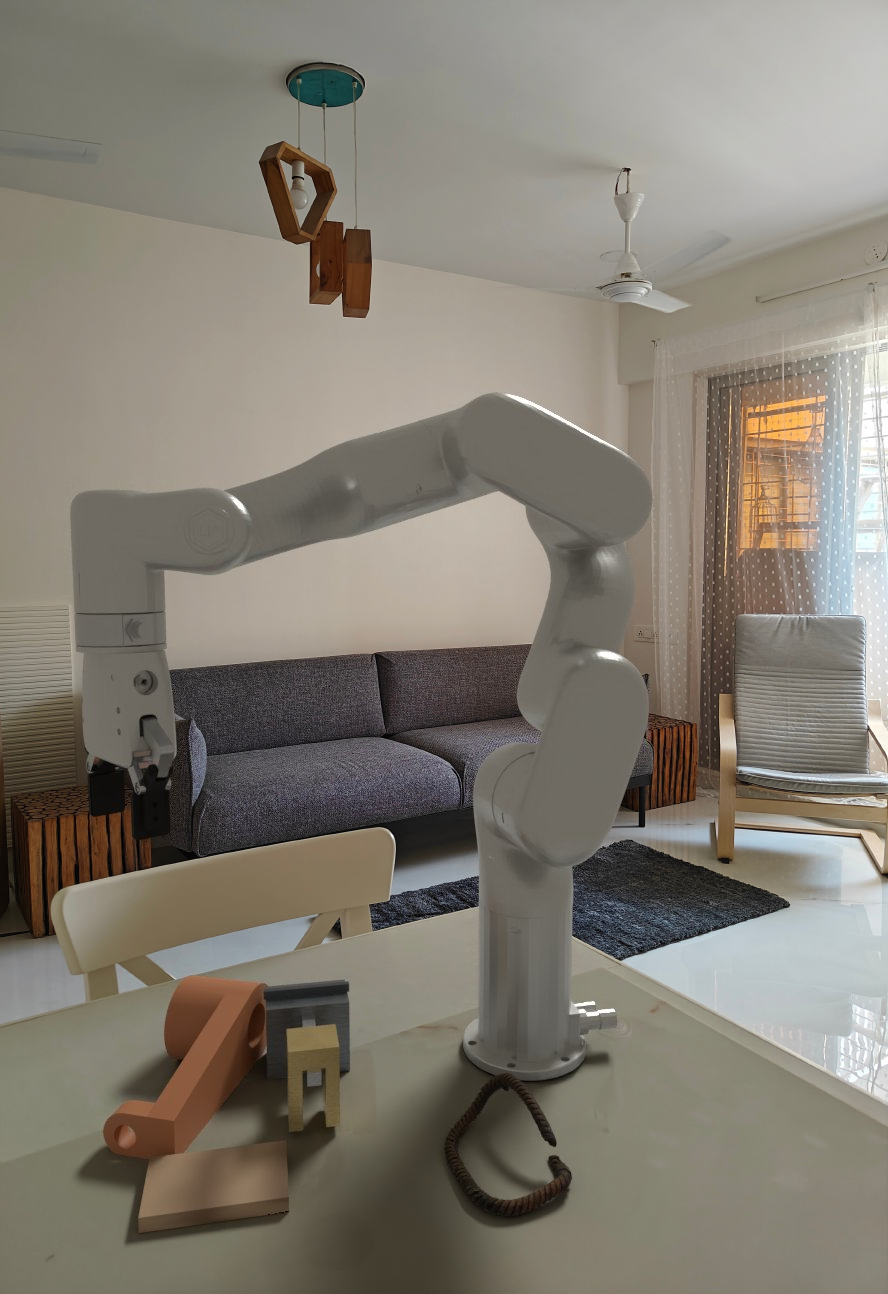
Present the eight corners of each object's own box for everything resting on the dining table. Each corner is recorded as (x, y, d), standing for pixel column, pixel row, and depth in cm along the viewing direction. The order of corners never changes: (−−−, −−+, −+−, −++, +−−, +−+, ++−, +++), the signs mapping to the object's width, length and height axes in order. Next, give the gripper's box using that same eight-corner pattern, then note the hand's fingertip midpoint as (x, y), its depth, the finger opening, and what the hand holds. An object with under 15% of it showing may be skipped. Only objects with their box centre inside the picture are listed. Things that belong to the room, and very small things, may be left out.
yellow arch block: (336, 1099, 82) (335, 1024, 81) (340, 1125, 78) (339, 1046, 77) (287, 1104, 81) (286, 1029, 80) (289, 1132, 77) (287, 1052, 77)
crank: (204, 1034, 95) (202, 962, 95) (273, 1042, 94) (272, 969, 93) (90, 1152, 76) (87, 1063, 75) (175, 1166, 74) (172, 1074, 73)
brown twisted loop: (584, 1171, 67) (451, 1171, 67) (580, 1233, 68) (449, 1234, 68) (554, 1060, 80) (443, 1059, 80) (551, 1113, 81) (441, 1113, 81)
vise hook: (346, 1038, 94) (345, 967, 93) (363, 1132, 78) (362, 1047, 77) (264, 1047, 92) (263, 974, 91) (265, 1145, 76) (264, 1057, 76)
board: (286, 1153, 75) (286, 1140, 75) (289, 1211, 68) (288, 1196, 68) (150, 1171, 73) (149, 1157, 73) (138, 1233, 66) (138, 1217, 66)
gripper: (206, 636, 74) (212, 837, 76) (124, 627, 87) (130, 799, 88) (117, 641, 69) (125, 856, 71) (44, 631, 82) (52, 813, 84)
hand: (128, 824), depth 80 cm, fingers open, 9 cm apart
